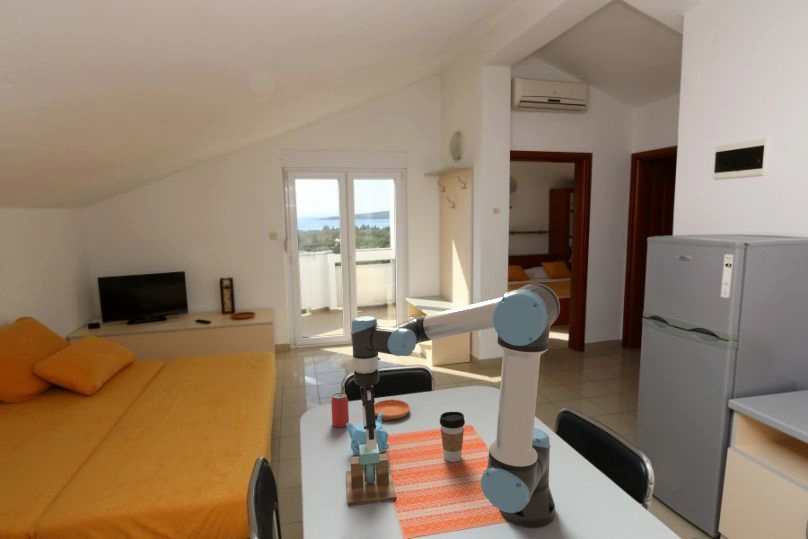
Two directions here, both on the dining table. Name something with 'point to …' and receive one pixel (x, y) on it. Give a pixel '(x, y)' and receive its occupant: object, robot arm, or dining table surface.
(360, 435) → the teapot
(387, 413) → the saucer
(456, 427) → the coffee cup
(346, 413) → the beer can
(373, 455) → the peg
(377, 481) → the bracket
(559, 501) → the dining table surface
